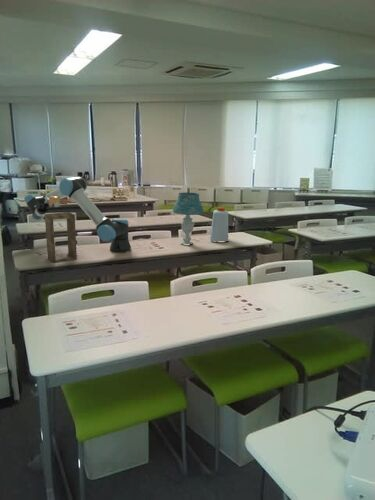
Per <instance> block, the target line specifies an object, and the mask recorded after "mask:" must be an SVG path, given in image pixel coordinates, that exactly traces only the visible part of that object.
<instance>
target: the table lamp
mask: <svg viewBox="0 0 375 500" xmlns="http://www.w3.org/2000/svg"><path fill="white" fill-rule="evenodd" d="M177 195H178V196H177V199H176V202H175V204H174V206H173V208H172V212H173V213H174V214H178V215H185V217H183V218H182V220H183V221H180V226H181V230H182V232H183V233H184V236H183V237H182V241H181V242H180V244H181V243H182V244H192V243H193V241H192V237H191V236H190V233H192V232H193V230H194V226H195V225H196V224H195V222H194V221H193V218H192V217H191V216H196V215H203V214H204V207H203V205H202V202H201V200H200V193H196V192H179V193H178V194H177ZM182 244H181V245H182ZM192 245H193V244H192Z"/></svg>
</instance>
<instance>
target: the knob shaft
mask: <svg viewBox="0 0 375 500" xmlns="http://www.w3.org/2000/svg"><path fill="white" fill-rule="evenodd" d="M47 198H48V197H47ZM46 203H47V204H49V206H50V208H52V207H53V208H58V207H61V199H60V197H59V196H50V197H49V198H48V200H47V202H46Z"/></svg>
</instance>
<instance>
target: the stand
mask: <svg viewBox="0 0 375 500" xmlns="http://www.w3.org/2000/svg"><path fill="white" fill-rule="evenodd" d="M65 219H66V231H67V233H66V234H67V250H68V251H67V252H68V253H62V254H61V253H60V254H56V242H55V229H54V226H55V225H54V221H55V220H65ZM44 223H45V226H44V227H45V238H46V248H47V249H46V252H47V253H46V254H47V259H48V260H49V261H50V262H51V263H58V262H59V263H60V262H64V261H65V262H66V261H70V260H77V259H78V256H77V255H78V254H77V235H76V234H77V233H76V215H75V214H74V213H72V212H69V211H68V212H67V211H66V212H53V213H46V214H45V215H44Z"/></svg>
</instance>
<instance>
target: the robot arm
mask: <svg viewBox="0 0 375 500" xmlns="http://www.w3.org/2000/svg"><path fill="white" fill-rule="evenodd" d="M58 185H59V187H58V188H57V189H55V190H53V191H51V192H48V193H46V194H44V195H38V196H35V195H34V194H33V193H30V194H27V195H25V196H24V198H23V199H24V201H25V204H26V206H27V207H28V209H29V210H30V212H31V215H32V216H31V217H32V220H34V221H37V222H40V221H41V220H42V219H44V218H45V214H48V211H49V209H50V208H54V207H50V206H49V204H47V203H46V202H47V200H48V198H49V197H50V196H59V197H60V200H62V199H64V198H67V197H68V198H69V199H70V200H71V201H75V203H76V204H77V205H78V207H80V208H81V210H82V211H83V212H84V213H85V215H87V216H88V217H89V219H90V220H91V221H92V223H93V224H94V225H95V230H96V233H97V236H98V238H99V239H100V240H101V241H103V242H110V247H109V251H111V252H114V253H127V251H128V252H131V250H132V245H131V243H130V241H129V240H130V239H129V226H130V225H129V220H128V219H125V218H112V220H111V218H109V217H106V216H105V215H104V214H103V213H102V212H101V211H100V209H99V207H97V206H96V204H95V203H94V202H93V201H92V200H91V199H90V198H89V196H88V195H87V194H86V193H85V191H86V190H87V187H88V183H87V181H86V180H85V178H83V177H81V176H74V177H66V178H65V177H64V178H63V179H60V182H59V184H58ZM47 197H48V198H47Z"/></svg>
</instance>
